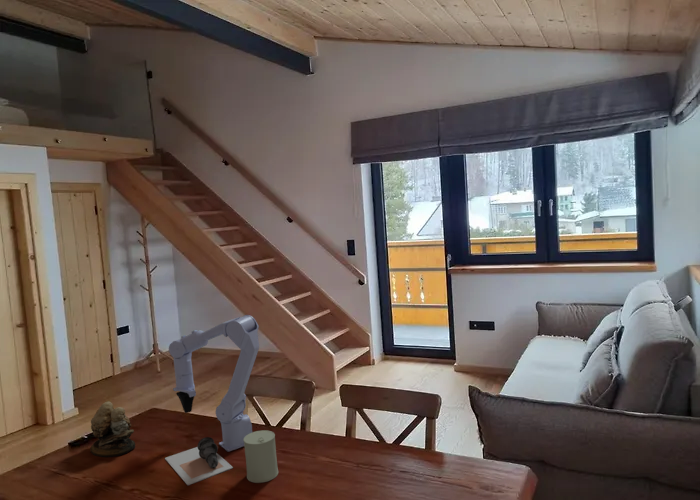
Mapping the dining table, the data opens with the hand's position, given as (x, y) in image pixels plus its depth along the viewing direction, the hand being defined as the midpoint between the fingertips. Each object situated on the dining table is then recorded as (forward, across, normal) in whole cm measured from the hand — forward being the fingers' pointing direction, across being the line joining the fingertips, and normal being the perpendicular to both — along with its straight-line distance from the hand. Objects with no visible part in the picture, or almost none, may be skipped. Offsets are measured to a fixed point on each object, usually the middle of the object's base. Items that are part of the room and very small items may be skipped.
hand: (188, 411), depth 178 cm
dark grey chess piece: (+6, +16, 0) cm, 17 cm away
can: (+11, +39, +8) cm, 41 cm away
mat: (+10, +18, -4) cm, 21 cm away
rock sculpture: (+11, -14, -22) cm, 28 cm away
